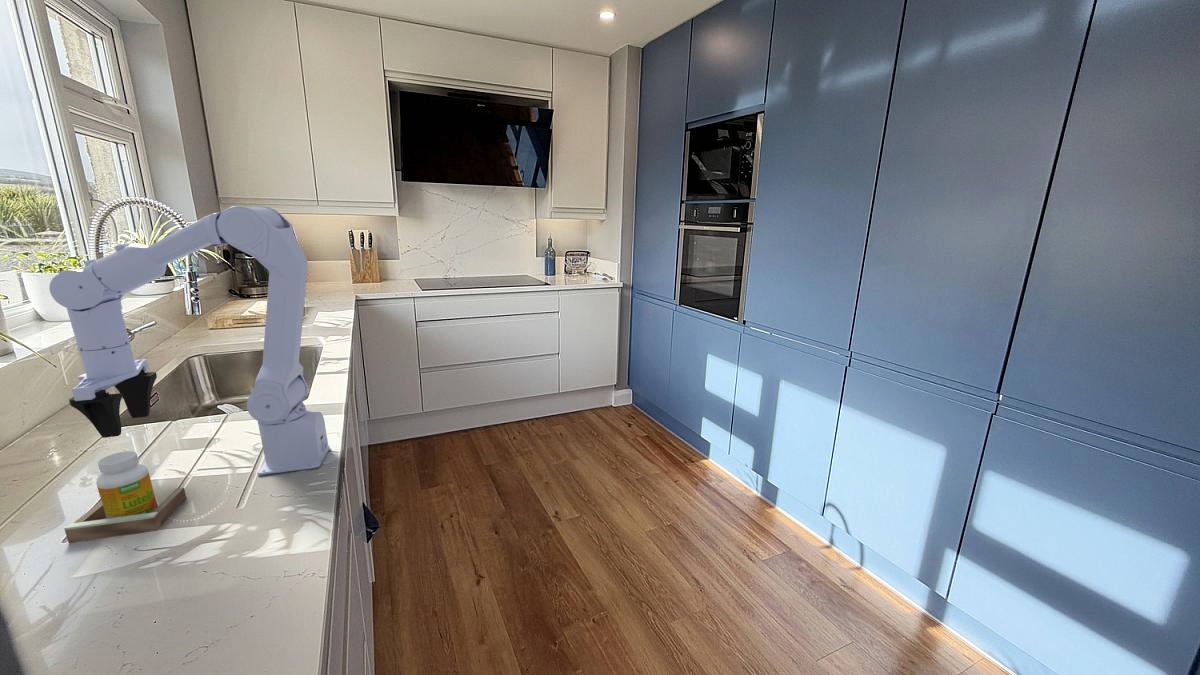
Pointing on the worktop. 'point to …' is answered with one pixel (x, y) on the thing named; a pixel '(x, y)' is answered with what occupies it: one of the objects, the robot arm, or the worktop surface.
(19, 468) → the worktop surface
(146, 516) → the dock
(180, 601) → the worktop surface
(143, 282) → the robot arm
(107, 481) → the supplement bottle
